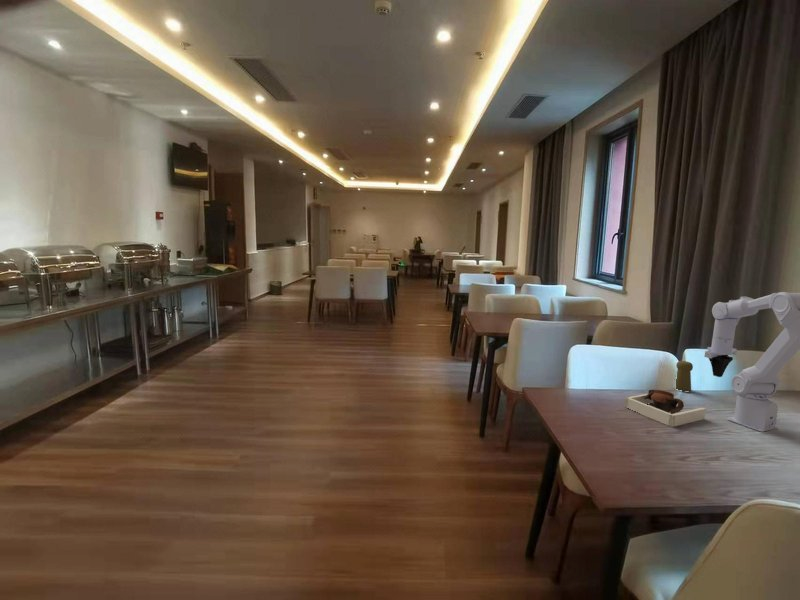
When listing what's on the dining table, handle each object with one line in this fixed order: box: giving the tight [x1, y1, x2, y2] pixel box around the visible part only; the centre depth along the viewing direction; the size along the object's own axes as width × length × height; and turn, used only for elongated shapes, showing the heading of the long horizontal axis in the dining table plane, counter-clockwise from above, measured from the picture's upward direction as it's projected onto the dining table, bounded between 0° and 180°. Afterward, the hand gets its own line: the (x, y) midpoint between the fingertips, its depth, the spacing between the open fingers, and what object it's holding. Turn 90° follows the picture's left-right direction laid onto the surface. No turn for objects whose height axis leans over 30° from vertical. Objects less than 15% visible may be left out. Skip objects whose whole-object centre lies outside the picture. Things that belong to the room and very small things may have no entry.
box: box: [624, 393, 707, 428], centre depth 136 cm, size 16×16×4 cm
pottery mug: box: [645, 389, 685, 414], centre depth 137 cm, size 12×10×8 cm
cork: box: [676, 360, 694, 392], centre depth 159 cm, size 6×6×11 cm
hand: (717, 376), depth 143 cm, fingers closed
